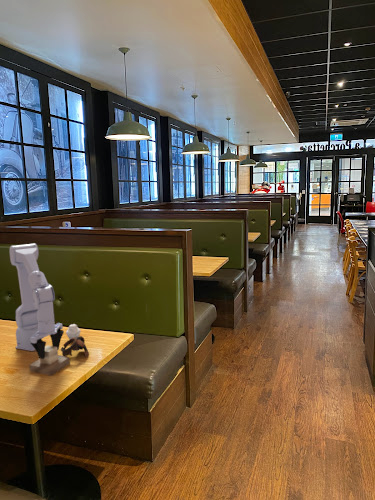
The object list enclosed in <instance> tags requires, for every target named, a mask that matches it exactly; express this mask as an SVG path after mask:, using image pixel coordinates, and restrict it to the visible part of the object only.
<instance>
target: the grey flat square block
mask: <svg viewBox="0 0 375 500" xmlns="http://www.w3.org/2000/svg"><path fill="white" fill-rule="evenodd" d="M70 364H71V361H70V356H63V355H59V354H58V360H57V361H55V362H53V363H52V364H50V365H49V364H44V363H40V358H38V359H37V360H35V361H33V362H32V363H30V364H29V372H32V373H37V374H42V375H45V376H46V375H47V376H51V377H52V376H54V375H55V374H57V373H58V372H60V370H62V369H64V368H65V367H67V366H68V365H70ZM56 372H57V373H56Z"/></svg>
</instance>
